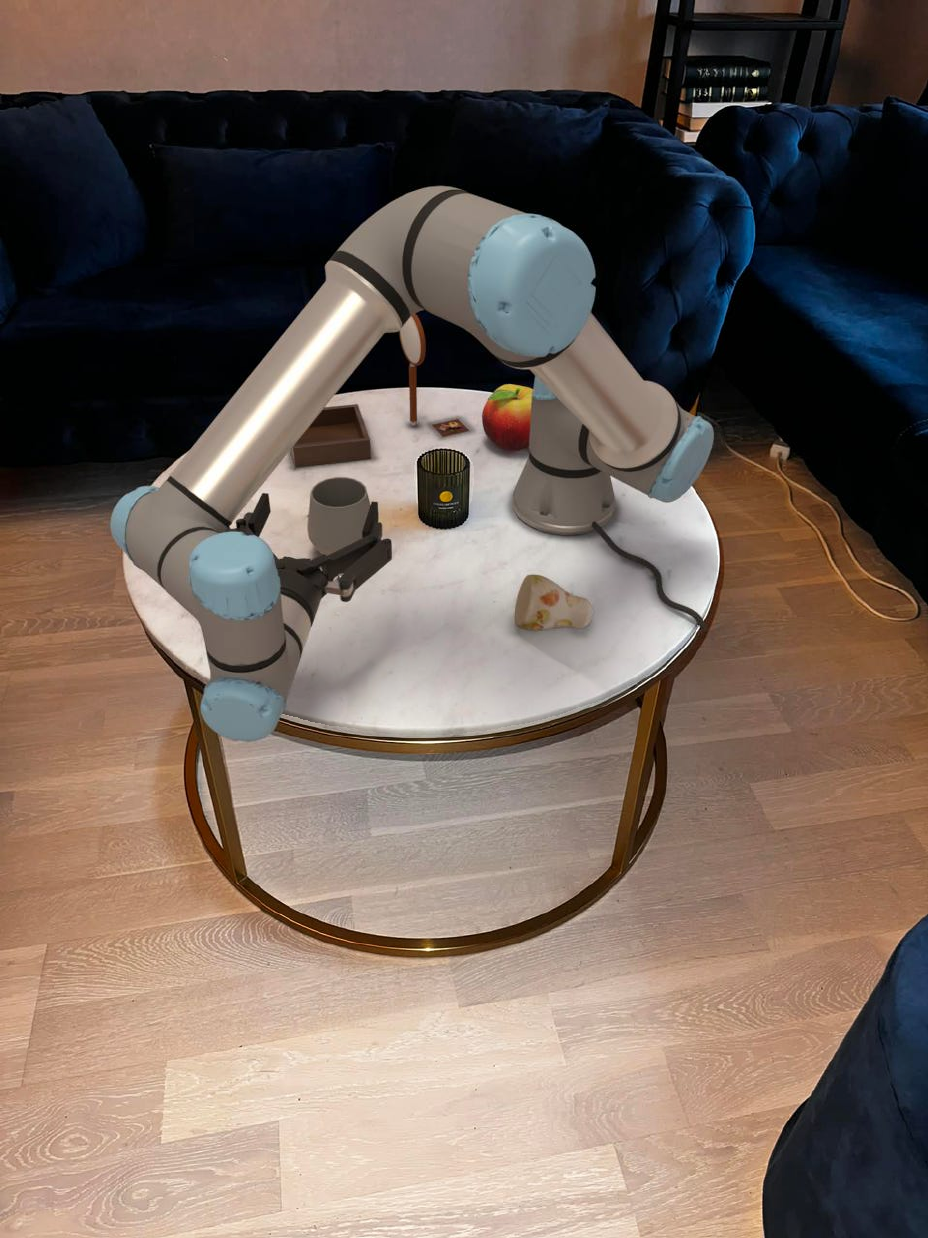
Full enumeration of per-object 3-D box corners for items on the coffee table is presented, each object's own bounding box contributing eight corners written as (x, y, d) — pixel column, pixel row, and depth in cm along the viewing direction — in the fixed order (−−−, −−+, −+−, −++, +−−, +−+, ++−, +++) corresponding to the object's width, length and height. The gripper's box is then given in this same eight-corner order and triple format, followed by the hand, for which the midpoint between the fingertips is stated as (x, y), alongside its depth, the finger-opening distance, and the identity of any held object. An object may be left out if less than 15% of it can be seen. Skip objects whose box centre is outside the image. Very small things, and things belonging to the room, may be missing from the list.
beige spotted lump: (599, 643, 119) (570, 599, 112) (529, 657, 123) (496, 616, 116) (599, 595, 124) (571, 550, 116) (531, 611, 128) (500, 568, 120)
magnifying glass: (398, 415, 163) (395, 302, 150) (407, 413, 163) (405, 300, 150) (419, 438, 157) (418, 322, 144) (429, 436, 157) (428, 320, 144)
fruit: (558, 449, 155) (563, 393, 148) (501, 465, 151) (504, 409, 144) (523, 420, 162) (527, 366, 155) (468, 435, 158) (470, 380, 151)
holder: (371, 458, 152) (370, 439, 149) (295, 467, 149) (293, 448, 147) (358, 422, 161) (357, 403, 158) (286, 429, 158) (284, 411, 156)
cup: (365, 527, 137) (362, 468, 131) (386, 563, 131) (383, 503, 124) (302, 540, 134) (295, 480, 128) (320, 578, 128) (313, 517, 121)
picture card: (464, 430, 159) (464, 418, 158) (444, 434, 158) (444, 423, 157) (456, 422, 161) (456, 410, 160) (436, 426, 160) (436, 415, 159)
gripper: (169, 633, 103) (226, 523, 119) (394, 653, 101) (421, 539, 118) (156, 579, 98) (217, 472, 114) (392, 599, 97) (420, 488, 113)
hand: (320, 506), depth 116 cm, fingers open, 13 cm apart
